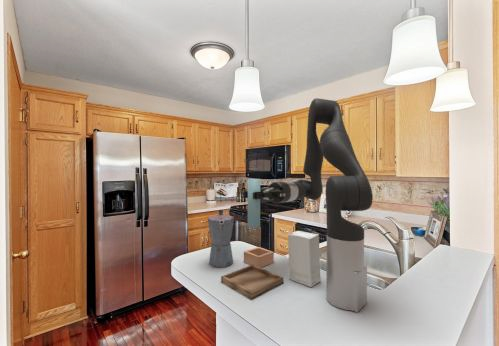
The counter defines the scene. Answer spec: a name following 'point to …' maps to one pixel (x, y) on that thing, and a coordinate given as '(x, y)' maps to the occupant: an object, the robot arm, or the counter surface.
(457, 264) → the counter surface
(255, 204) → the dowel pin
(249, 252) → the square terracotta collar
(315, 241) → the skincare box
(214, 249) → the moka pot
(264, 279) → the tray
